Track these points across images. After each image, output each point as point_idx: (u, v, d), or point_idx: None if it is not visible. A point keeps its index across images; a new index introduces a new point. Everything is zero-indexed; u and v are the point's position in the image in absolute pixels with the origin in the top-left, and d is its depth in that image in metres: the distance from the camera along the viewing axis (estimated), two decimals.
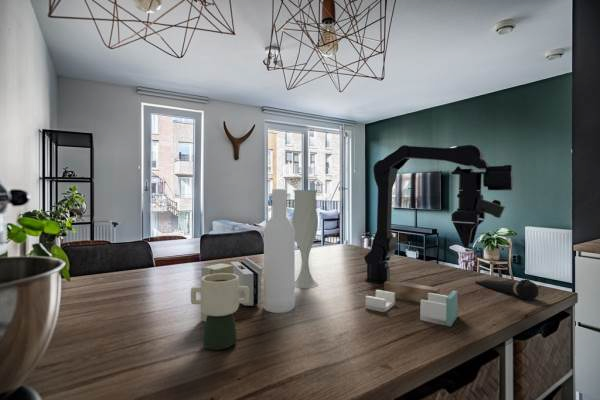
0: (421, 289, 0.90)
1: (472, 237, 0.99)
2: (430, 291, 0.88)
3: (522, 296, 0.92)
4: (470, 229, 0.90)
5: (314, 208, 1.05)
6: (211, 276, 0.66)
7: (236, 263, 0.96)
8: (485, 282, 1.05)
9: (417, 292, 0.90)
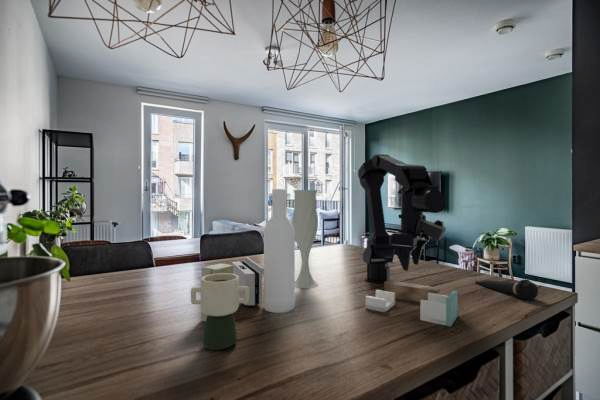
0: (421, 289, 0.90)
1: (417, 258, 0.96)
2: (430, 291, 0.88)
3: (522, 296, 0.92)
4: (408, 252, 0.87)
5: (314, 208, 1.05)
6: (211, 276, 0.66)
7: (237, 263, 0.97)
8: (485, 282, 1.05)
9: (417, 292, 0.90)
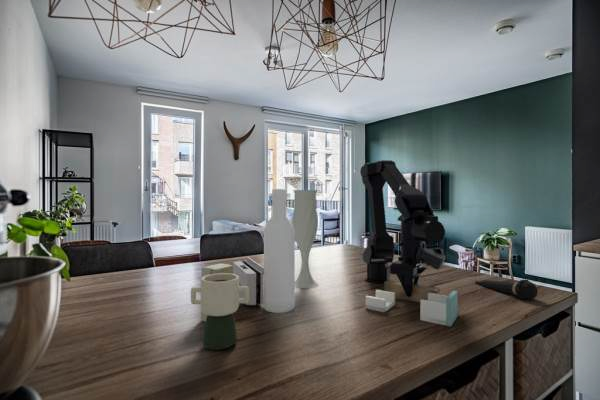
0: (421, 289, 0.90)
1: None
2: (430, 291, 0.88)
3: (521, 296, 0.92)
4: (411, 279, 0.89)
5: (314, 208, 1.05)
6: (211, 276, 0.66)
7: (238, 263, 0.97)
8: (484, 282, 1.05)
9: (417, 292, 0.90)
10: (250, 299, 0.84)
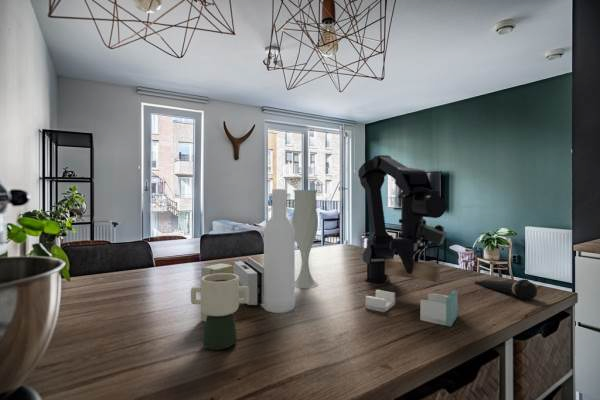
0: (422, 265, 0.89)
1: None
2: (431, 267, 0.88)
3: (520, 296, 0.92)
4: (412, 255, 0.89)
5: (314, 208, 1.05)
6: (211, 276, 0.66)
7: (239, 263, 0.97)
8: (484, 282, 1.05)
9: (418, 268, 0.90)
10: (251, 299, 0.84)
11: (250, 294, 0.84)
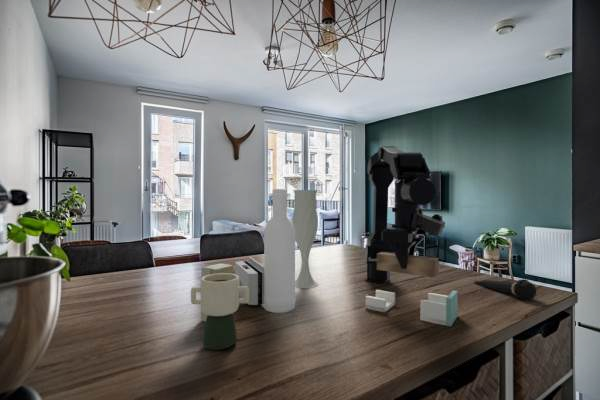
0: (417, 259, 0.79)
1: None
2: (428, 261, 0.78)
3: (520, 296, 0.92)
4: (406, 248, 0.79)
5: (314, 208, 1.05)
6: (211, 276, 0.66)
7: (240, 263, 0.97)
8: (484, 282, 1.05)
9: (413, 262, 0.80)
10: (252, 299, 0.84)
11: (251, 294, 0.84)
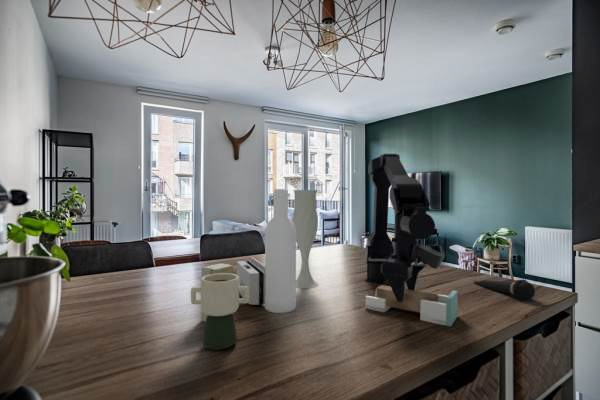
0: (417, 296, 0.80)
1: (412, 286, 0.86)
2: (427, 298, 0.78)
3: (518, 296, 0.92)
4: (402, 282, 0.77)
5: (314, 208, 1.05)
6: (211, 276, 0.66)
7: (242, 262, 0.97)
8: (483, 282, 1.05)
9: (413, 299, 0.80)
10: (253, 299, 0.85)
11: (252, 294, 0.85)
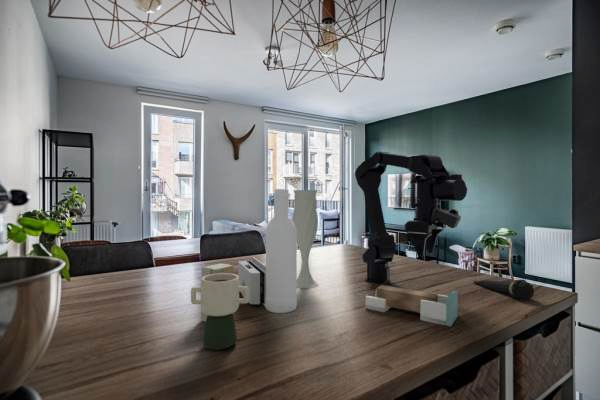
0: (417, 296, 0.80)
1: (431, 246, 0.98)
2: (427, 298, 0.78)
3: (517, 296, 0.92)
4: (423, 239, 0.89)
5: (314, 208, 1.05)
6: (211, 276, 0.66)
7: (244, 262, 0.97)
8: (483, 282, 1.05)
9: (413, 299, 0.80)
10: (254, 298, 0.85)
11: (253, 293, 0.85)
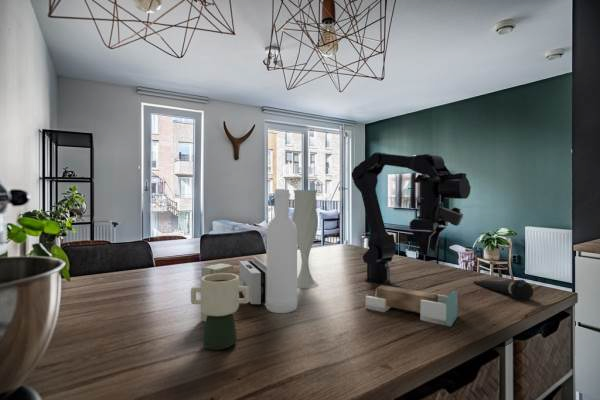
0: (417, 296, 0.80)
1: (434, 244, 1.00)
2: (427, 298, 0.78)
3: (516, 296, 0.92)
4: (428, 237, 0.91)
5: (314, 208, 1.05)
6: (211, 276, 0.66)
7: (245, 262, 0.98)
8: (482, 282, 1.05)
9: (413, 299, 0.80)
10: (255, 298, 0.85)
11: (253, 293, 0.85)
